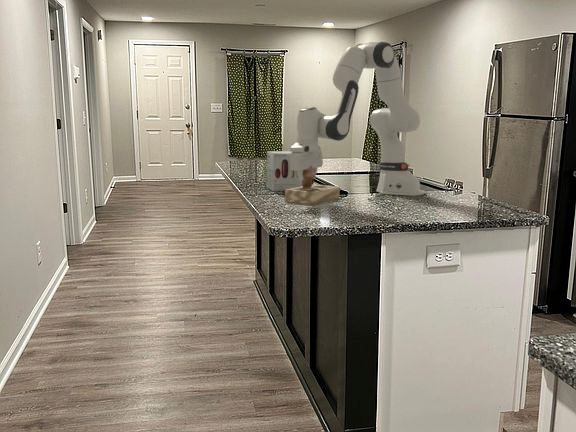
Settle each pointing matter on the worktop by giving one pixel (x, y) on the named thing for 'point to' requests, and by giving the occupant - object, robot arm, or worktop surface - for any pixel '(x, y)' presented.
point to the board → (312, 194)
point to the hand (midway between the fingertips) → (307, 179)
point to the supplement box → (281, 171)
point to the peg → (307, 179)
